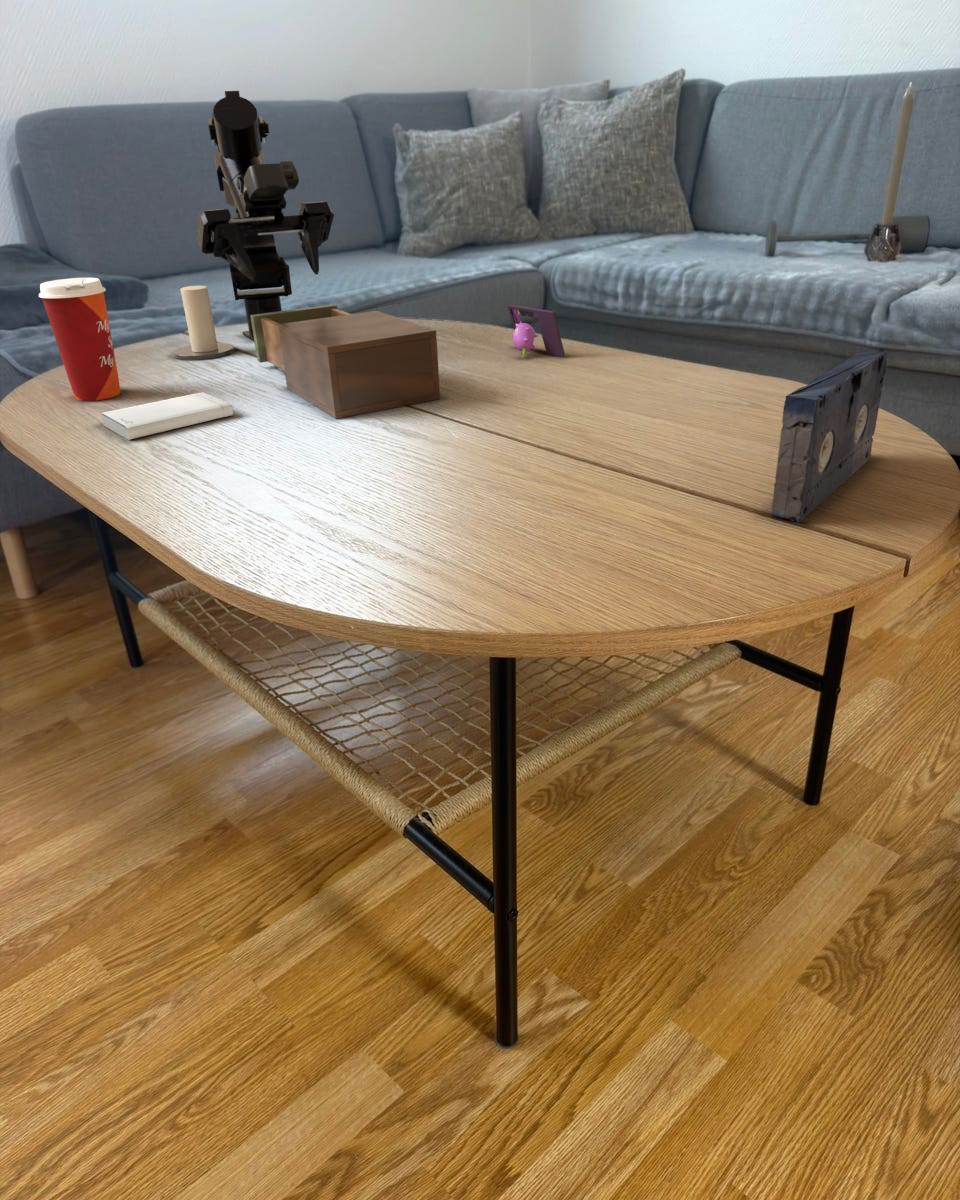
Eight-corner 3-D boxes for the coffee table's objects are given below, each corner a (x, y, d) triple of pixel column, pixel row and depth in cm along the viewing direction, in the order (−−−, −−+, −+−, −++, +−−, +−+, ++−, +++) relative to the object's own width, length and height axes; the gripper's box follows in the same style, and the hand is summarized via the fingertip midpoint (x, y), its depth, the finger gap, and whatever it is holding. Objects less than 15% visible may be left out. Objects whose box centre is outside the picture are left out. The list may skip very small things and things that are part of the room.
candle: (189, 349, 132) (177, 287, 128) (214, 345, 134) (203, 284, 130) (195, 353, 130) (183, 290, 125) (221, 350, 131) (210, 287, 127)
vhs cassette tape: (843, 454, 83) (861, 348, 78) (875, 459, 81) (896, 351, 76) (763, 516, 71) (778, 395, 66) (798, 524, 69) (817, 400, 64)
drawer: (248, 356, 126) (241, 310, 123) (328, 343, 131) (323, 300, 128) (294, 383, 111) (288, 333, 108) (383, 368, 116) (379, 320, 113)
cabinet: (287, 388, 112) (277, 324, 108) (382, 372, 118) (377, 310, 114) (335, 418, 99) (327, 347, 95) (440, 398, 105) (436, 330, 101)
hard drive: (126, 426, 94) (231, 402, 101) (99, 412, 100) (201, 389, 106) (130, 441, 95) (234, 416, 102) (103, 426, 100) (203, 403, 107)
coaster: (167, 352, 134) (166, 348, 134) (225, 343, 138) (224, 340, 138) (181, 362, 127) (180, 358, 127) (241, 354, 131) (241, 349, 131)
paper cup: (135, 396, 111) (108, 281, 105) (71, 406, 108) (40, 288, 101) (122, 384, 117) (96, 274, 111) (61, 393, 114) (31, 281, 107)
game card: (557, 308, 118) (512, 301, 124) (532, 327, 116) (487, 319, 122) (568, 353, 122) (524, 344, 128) (544, 372, 120) (500, 362, 126)
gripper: (185, 143, 113) (224, 241, 110) (320, 137, 121) (360, 229, 118) (183, 206, 123) (218, 298, 119) (308, 197, 131) (344, 283, 127)
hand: (286, 275), depth 121 cm, fingers open, 9 cm apart
